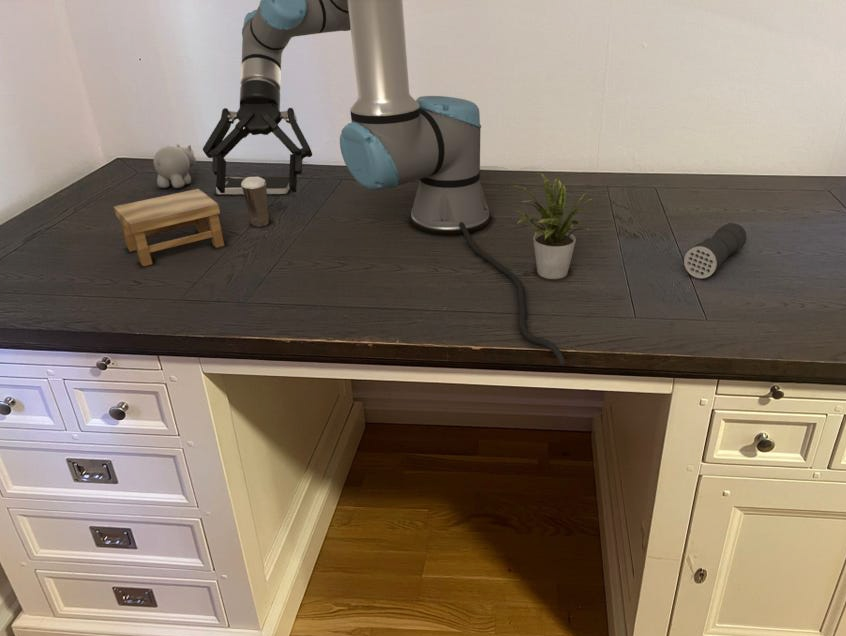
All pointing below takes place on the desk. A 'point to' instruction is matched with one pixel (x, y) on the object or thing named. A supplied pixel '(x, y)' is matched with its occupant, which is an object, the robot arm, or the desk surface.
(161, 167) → the round bodied animal figurine
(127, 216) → the stool
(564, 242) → the house plant
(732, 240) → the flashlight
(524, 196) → the desk surface
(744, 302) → the desk surface
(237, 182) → the smartphone
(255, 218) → the milkshake
